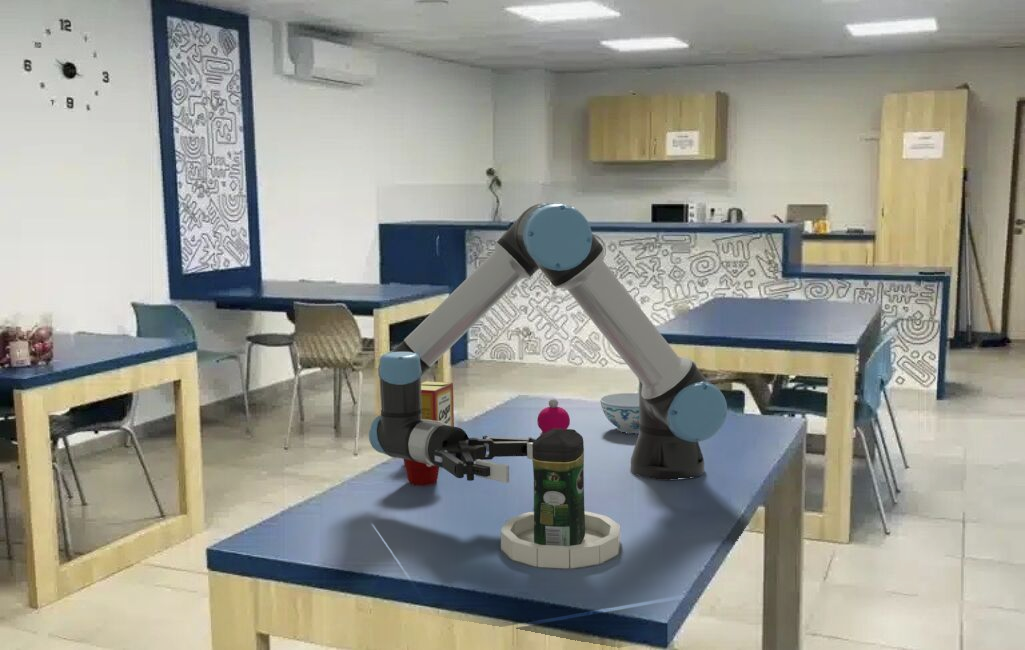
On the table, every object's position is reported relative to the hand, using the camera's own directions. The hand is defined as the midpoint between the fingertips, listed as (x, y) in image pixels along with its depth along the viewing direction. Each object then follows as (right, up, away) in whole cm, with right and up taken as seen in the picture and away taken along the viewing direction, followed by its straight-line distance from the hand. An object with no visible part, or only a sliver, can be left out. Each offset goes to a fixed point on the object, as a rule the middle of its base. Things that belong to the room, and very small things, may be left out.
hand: (534, 464), depth 162 cm
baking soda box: (-21, -6, +58) cm, 62 cm away
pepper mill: (+4, -10, +22) cm, 25 cm away
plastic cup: (-21, -9, +37) cm, 44 cm away
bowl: (+4, -13, -2) cm, 14 cm away
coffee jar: (+4, -13, -2) cm, 13 cm away
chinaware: (+25, -3, +77) cm, 81 cm away
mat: (+4, -13, -1) cm, 14 cm away
